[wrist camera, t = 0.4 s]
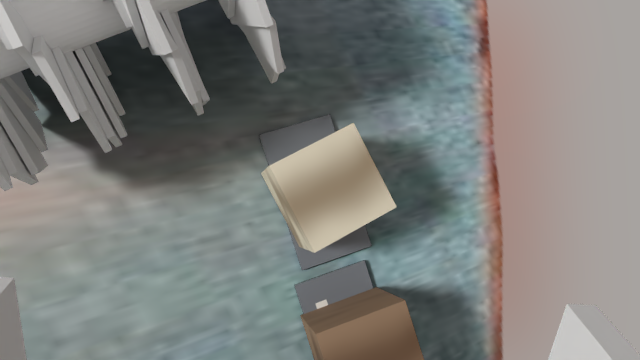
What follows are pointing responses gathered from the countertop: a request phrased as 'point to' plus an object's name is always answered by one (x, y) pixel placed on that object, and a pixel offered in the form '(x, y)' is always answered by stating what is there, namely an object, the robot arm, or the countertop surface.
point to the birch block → (328, 189)
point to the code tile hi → (290, 142)
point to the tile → (333, 286)
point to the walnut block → (363, 329)
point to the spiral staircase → (98, 64)
